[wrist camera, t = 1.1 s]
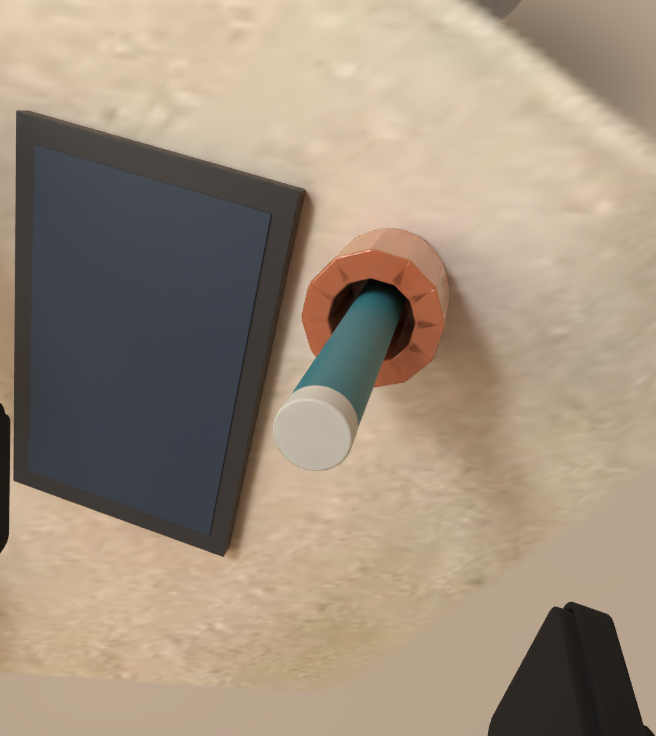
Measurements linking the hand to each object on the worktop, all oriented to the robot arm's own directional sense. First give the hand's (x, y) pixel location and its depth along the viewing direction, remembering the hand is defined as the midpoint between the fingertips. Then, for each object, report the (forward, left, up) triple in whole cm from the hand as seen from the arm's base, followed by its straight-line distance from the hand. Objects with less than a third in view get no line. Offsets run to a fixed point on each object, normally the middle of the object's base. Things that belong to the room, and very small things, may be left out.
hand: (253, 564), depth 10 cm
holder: (0, 0, -17) cm, 17 cm away
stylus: (0, 0, -17) cm, 17 cm away
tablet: (+7, -11, -17) cm, 22 cm away
